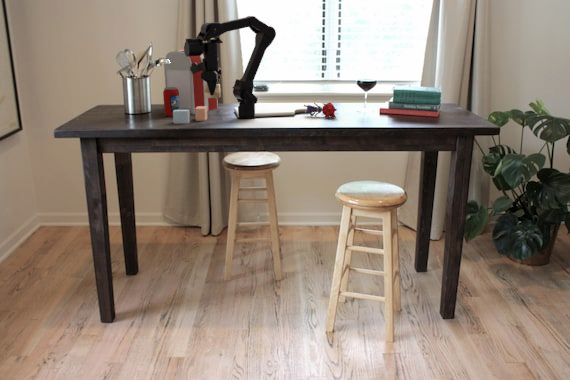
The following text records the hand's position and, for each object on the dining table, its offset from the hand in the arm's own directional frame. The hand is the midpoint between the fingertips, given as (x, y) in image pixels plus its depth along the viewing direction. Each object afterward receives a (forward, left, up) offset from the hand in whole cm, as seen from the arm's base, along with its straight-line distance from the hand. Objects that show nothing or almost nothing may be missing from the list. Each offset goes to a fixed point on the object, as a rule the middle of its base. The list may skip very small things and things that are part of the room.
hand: (212, 94), depth 248 cm
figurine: (-44, -7, -11) cm, 46 cm away
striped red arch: (+14, -30, -11) cm, 35 cm away
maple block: (0, 0, -1) cm, 1 cm away
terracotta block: (+6, -5, -11) cm, 13 cm away
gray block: (+13, +2, -11) cm, 17 cm away
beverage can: (+20, -14, -11) cm, 27 cm away
